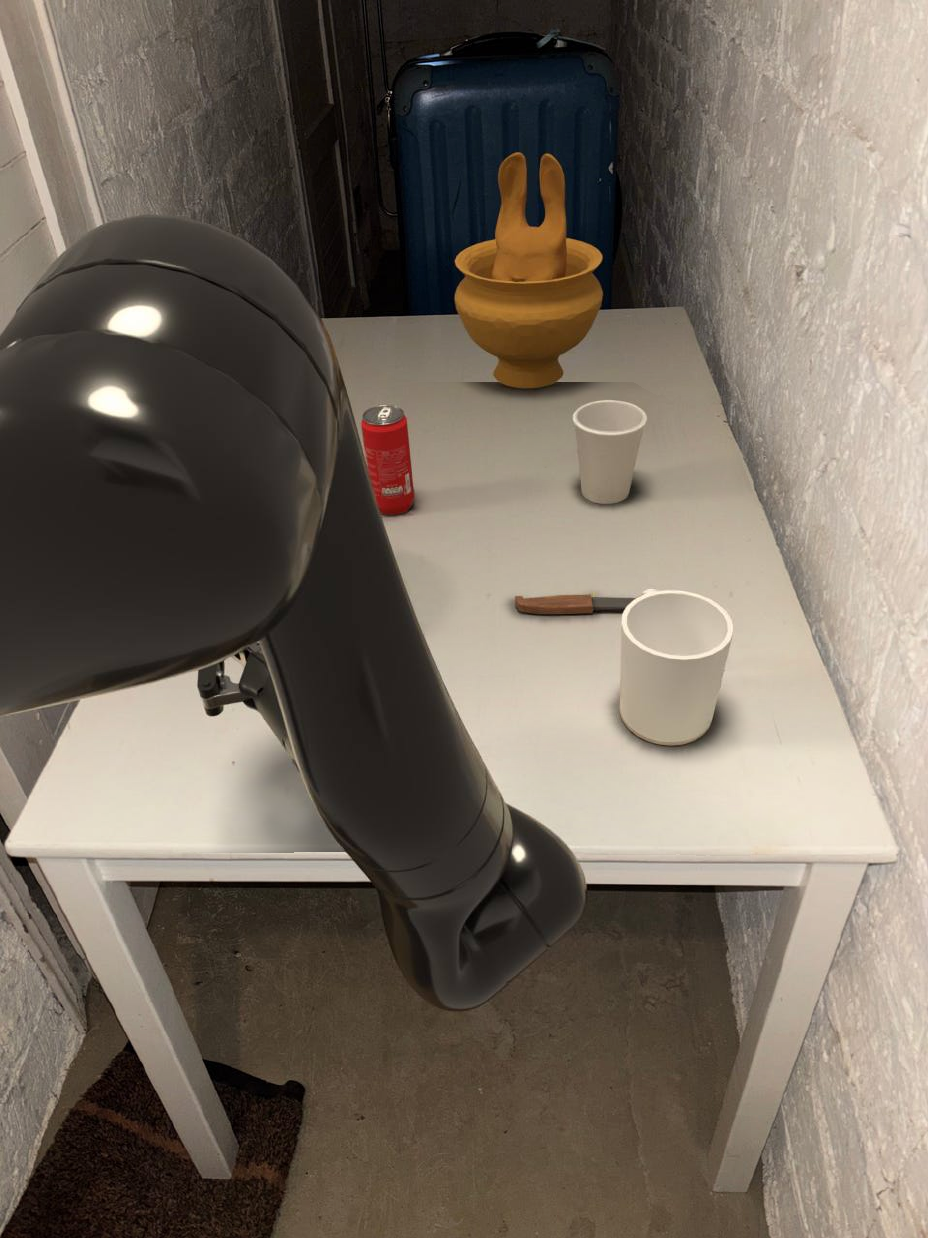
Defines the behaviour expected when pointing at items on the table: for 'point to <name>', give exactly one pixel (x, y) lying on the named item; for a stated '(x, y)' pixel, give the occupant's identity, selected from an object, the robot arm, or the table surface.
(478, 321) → the decorative bowl
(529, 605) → the knife
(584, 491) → the dixie cup
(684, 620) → the mug
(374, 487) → the beverage can
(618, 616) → the table surface
